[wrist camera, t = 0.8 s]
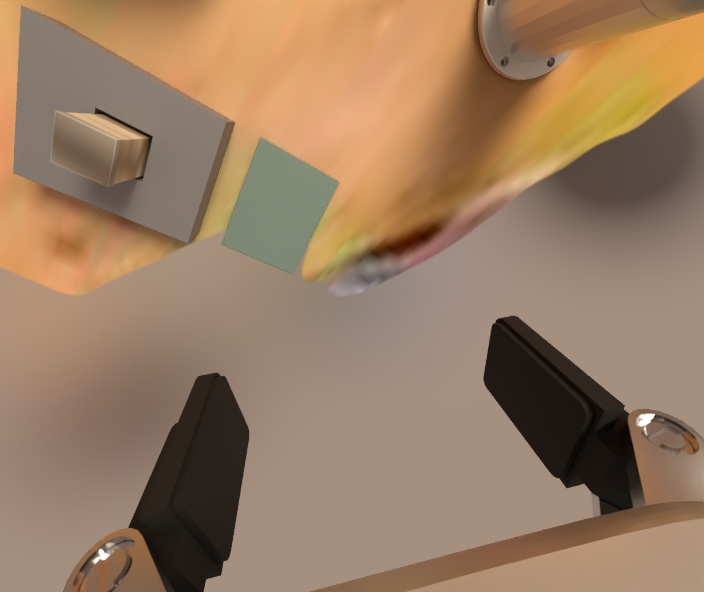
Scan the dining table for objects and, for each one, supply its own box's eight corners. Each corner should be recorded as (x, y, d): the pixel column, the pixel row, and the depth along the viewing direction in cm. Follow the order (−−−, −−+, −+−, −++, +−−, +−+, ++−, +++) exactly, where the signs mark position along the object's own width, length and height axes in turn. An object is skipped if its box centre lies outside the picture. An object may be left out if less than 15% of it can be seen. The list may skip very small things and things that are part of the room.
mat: (261, 137, 33) (260, 137, 32) (338, 181, 37) (339, 182, 36) (222, 242, 38) (221, 244, 38) (293, 272, 42) (292, 274, 41)
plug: (119, 114, 30) (55, 110, 22) (163, 137, 31) (116, 140, 24) (112, 153, 31) (50, 162, 24) (154, 173, 33) (108, 187, 25)
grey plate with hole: (58, 21, 26) (21, 5, 23) (234, 122, 32) (226, 121, 29) (44, 168, 32) (13, 173, 28) (198, 232, 37) (187, 243, 34)
